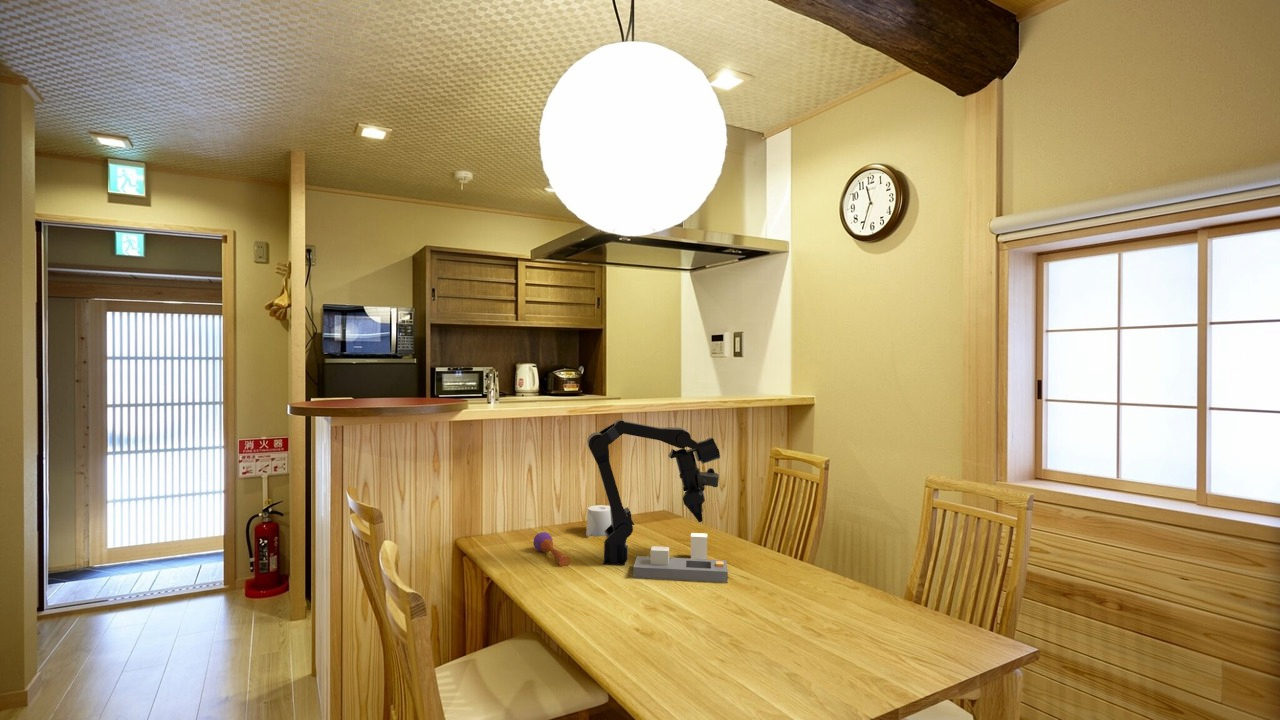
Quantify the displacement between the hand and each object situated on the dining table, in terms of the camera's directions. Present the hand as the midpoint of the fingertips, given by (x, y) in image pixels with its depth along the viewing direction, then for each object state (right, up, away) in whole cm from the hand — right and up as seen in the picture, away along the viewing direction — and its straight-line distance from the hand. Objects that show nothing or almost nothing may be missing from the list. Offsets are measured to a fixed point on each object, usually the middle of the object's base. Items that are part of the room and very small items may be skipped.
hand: (700, 516), depth 191 cm
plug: (-1, -13, +1) cm, 13 cm away
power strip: (-7, -13, -14) cm, 20 cm away
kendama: (-46, -13, 0) cm, 48 cm away
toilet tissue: (-33, -13, +27) cm, 44 cm away
